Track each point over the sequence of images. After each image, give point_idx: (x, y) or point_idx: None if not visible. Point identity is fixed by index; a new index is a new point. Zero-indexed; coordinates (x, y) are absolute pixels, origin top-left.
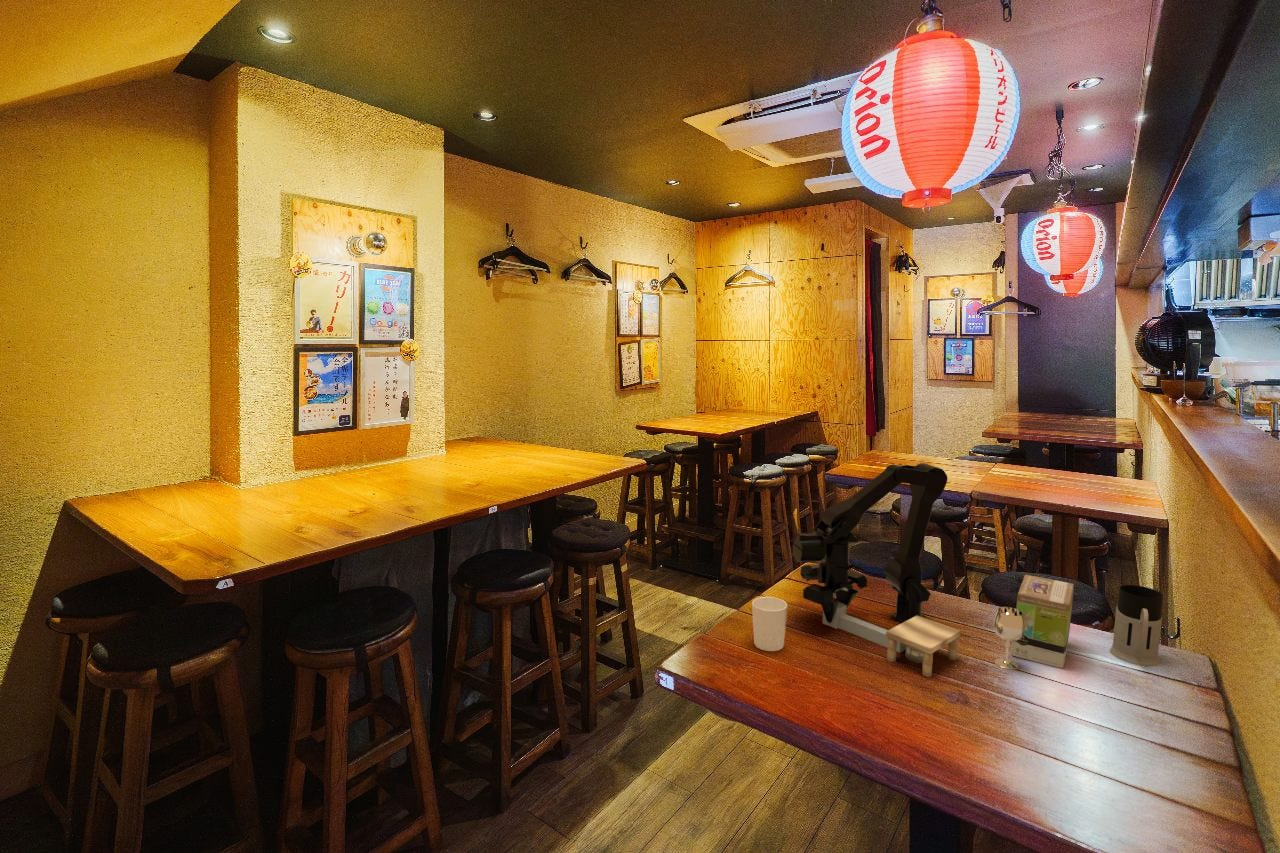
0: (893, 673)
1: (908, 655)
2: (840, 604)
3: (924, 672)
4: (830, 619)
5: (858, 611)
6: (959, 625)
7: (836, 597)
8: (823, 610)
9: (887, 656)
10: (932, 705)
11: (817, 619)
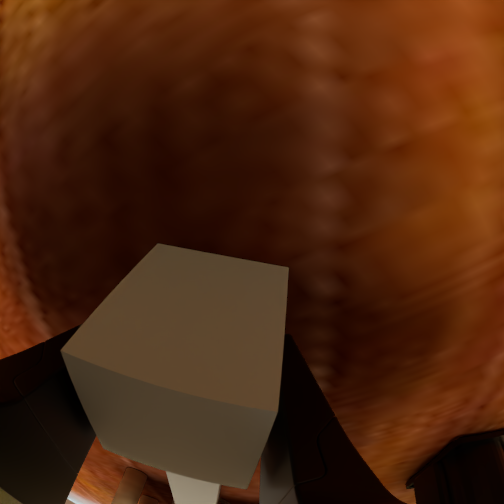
0: (94, 465)
1: (173, 500)
2: (214, 467)
3: (139, 501)
4: None
5: (492, 338)
6: None
7: (288, 474)
8: (54, 339)
9: (124, 474)
10: (83, 482)
11: (187, 178)
